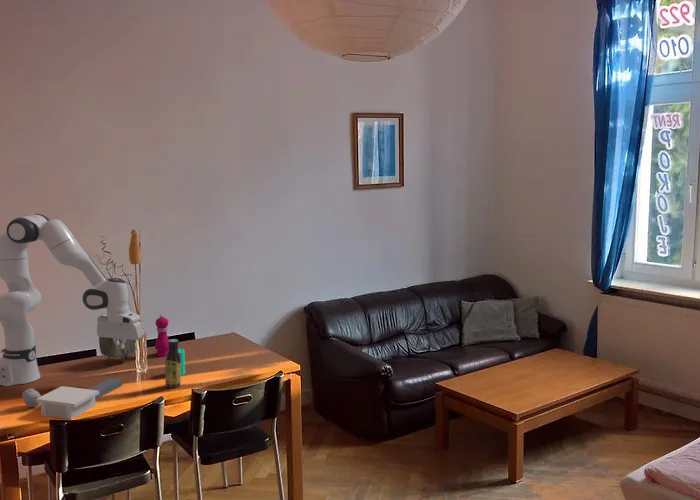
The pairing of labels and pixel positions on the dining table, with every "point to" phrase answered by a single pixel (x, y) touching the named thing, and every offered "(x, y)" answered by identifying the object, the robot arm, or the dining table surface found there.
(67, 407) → the box with flat lid
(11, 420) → the dining table surface
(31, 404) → the frog figurine
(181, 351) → the candle
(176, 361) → the sauce bottle
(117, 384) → the blue-grey bar
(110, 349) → the tabletop clock
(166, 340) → the pepper mill
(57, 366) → the dining table surface
